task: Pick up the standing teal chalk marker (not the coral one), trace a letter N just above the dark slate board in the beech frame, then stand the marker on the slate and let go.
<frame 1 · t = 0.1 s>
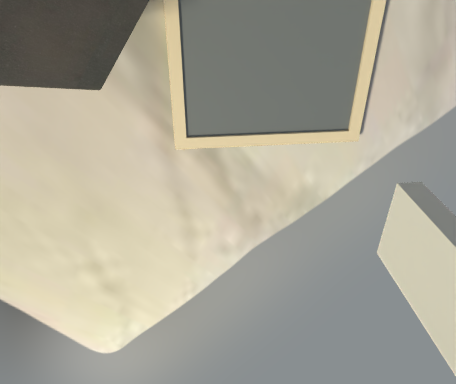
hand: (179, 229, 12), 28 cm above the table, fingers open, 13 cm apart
slate board: (271, 68, 37), on the table
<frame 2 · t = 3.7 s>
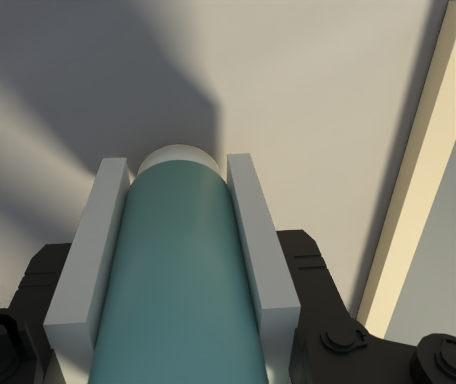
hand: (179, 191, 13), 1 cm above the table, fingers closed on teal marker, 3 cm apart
teal marker: (179, 182, 14), point 1 cm above the table, touching gripper
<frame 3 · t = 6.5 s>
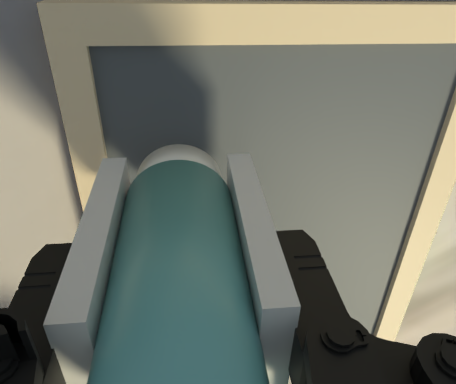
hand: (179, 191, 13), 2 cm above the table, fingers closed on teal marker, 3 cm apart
slate board: (267, 232, 18), on the table
teal marker: (179, 182, 14), point 2 cm above the table, touching gripper
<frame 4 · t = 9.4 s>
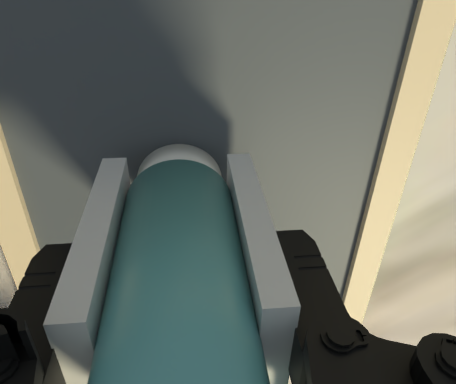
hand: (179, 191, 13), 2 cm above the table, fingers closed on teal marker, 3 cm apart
slate board: (203, 180, 15), on the table
teal marker: (179, 182, 14), point 1 cm above the table, touching gripper
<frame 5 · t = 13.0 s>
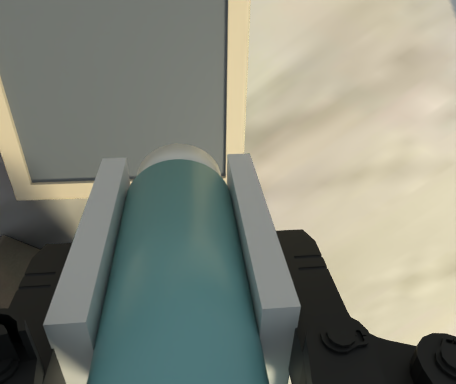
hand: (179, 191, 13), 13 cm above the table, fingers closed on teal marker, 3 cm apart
slate board: (114, 47, 23), on the table
teal marker: (179, 182, 14), point 12 cm above the table, touching gripper
planter: (26, 296, 33), on the table
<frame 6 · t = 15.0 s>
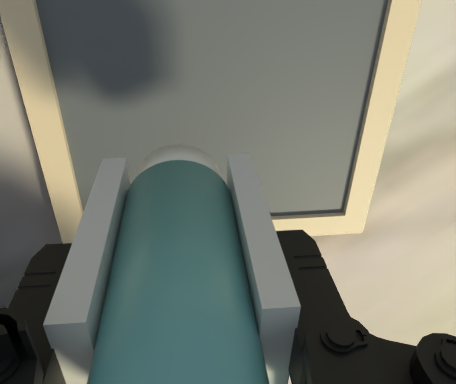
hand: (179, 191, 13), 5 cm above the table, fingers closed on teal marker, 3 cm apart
slate board: (218, 39, 16), on the table
teal marker: (179, 182, 14), point 4 cm above the table, touching gripper
when the fingers open (2 cm above the table, at t = 15.7 s): teal marker stays where it is, resting on slate board.
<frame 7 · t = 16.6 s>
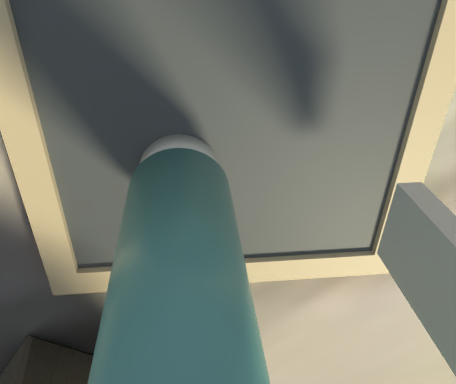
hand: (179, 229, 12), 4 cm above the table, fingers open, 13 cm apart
slate board: (233, 57, 13), on the table
teal marker: (179, 171, 15), point 1 cm above the table, touching slate board
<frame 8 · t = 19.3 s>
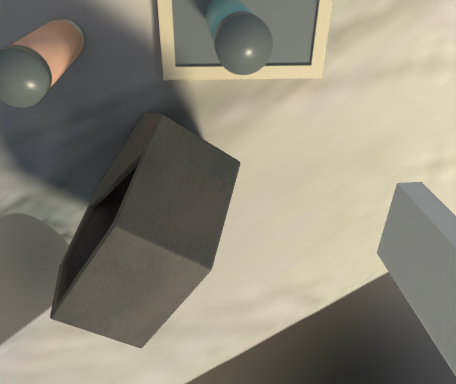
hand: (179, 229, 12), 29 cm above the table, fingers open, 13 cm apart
teal marker: (223, 13, 34), point 1 cm above the table, touching slate board
planter: (149, 170, 43), on the table
coral marker: (66, 37, 35), on the table
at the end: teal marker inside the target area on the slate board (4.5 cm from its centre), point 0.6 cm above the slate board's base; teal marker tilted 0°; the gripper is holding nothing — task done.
